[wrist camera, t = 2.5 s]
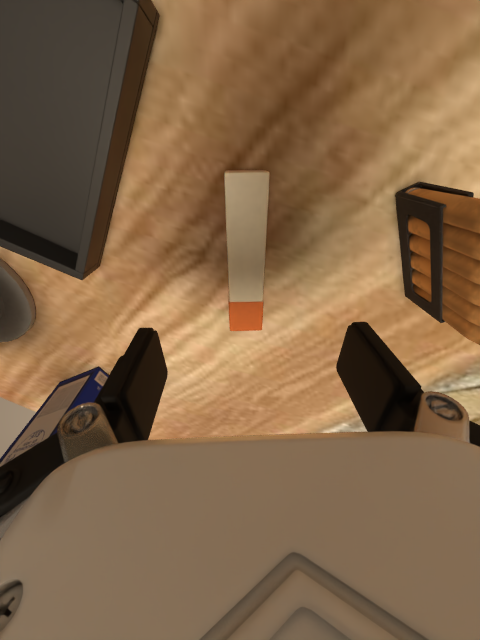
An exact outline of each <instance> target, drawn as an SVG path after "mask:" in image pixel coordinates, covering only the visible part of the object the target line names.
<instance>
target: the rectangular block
mask: <svg viewBox="0 0 480 640" xmlns="http://www.w3.org/2000/svg"><path fill="white" fill-rule="evenodd" d="M269 177H270V172H268V171H265V170H226V171H225V173H224V181H225V206H226V231H227V256H228V281H229V320H230V331H249V330H262V319H263V288H264V270H265V251H266V232H267V214H268V195H269Z"/></svg>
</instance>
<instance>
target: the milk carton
mask: <svg viewBox="0 0 480 640" xmlns="http://www.w3.org/2000/svg"><path fill="white" fill-rule="evenodd" d="M108 377H109V375H107V374H106V373H105V372H104V371H103V370H102V369H101V368H99V367H97V368H94V369H92V370H89V371H87V372H84V373H82V374H79V375H77V376H74V377H72V378H69V379H67V380H64V381H62V382H60V383H59V384H58V385H57V387H56V388H55V389H54V390H53V392H52V393H51V394H50V396H49V397H48V398H47V399H46V401H45V402H44V403H43V405H42V406H41V407H40V408H39V410H38V411H37V412H36V414H35V415H34V416H33V417H32V419H31V420H30V421H29V423H28V424H27V425H26V426H25V428H24V429H23V430H22V432H21V433H20V434H19V435H18V437H17V438H16V440H15V441H14V442H13V443H12V444H11V446H10V447H9V448H8V449H7V451H6V452H5V454H4V455H3V456H2V457H1V459H0V467H1V466H2V465H4V464H6V463H7V462H9V461H11V460H12V459H14V458H15V457H17V456H19V455H20V454H22V453H24V452H25V451H27V450H29V449H30V448H32V447H34V446H35V445H37V444H39V443H40V442H42V441H44V440H45V439H47V438H48V437H50V436H52V435H53V434H55V433H57V426H58V423H59V421H60V420H61V418H62V417H63V416H64V415H65V414H66V413H67V412H68V411H69V410H71V409H73V408H74V407H76V406H78V405H81V404H84V403H89V402H91V403H94V401H95V399H96V397H97V396H98V394H99V392H100V390H101V389H102V387H103V385H104V384H105V382H106V380H107V378H108Z"/></svg>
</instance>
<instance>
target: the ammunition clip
mask: <svg viewBox="0 0 480 640" xmlns="http://www.w3.org/2000/svg"><path fill="white" fill-rule="evenodd" d="M396 206H397V216H398V226H399V237H400V247H401V257H402V267H403V278H404V288H405V296H406V297H407V298H408V299H410V300H411V301H412V302H414V303H415V304H416V305H418V306H419V307H420V308H422V309H423V310H424V311H426V312H427V313H428V314H429V315H431V316H432V317H433V318H435V319H436V320H437V321H439V322H440V323H443V322H446V323H448V324H449V325H450V326H452V327H453V328H454V329H456V330H457V331H458V332H459V333H461V334H462V335H463V336H465V337H466V338H467V339H469V340H471V341H473V342H475V343H477V344H479V345H480V199H478V198H473V192H468V191H463V190H458V189H453V188H448V187H443V186H438V185H433V184H428V183H424V182H419V183H416V184H414V185H412V186H410V187H408V188H406V189H404V190H402V191H400V192H398V193H397V194H396ZM442 319H443V320H442Z"/></svg>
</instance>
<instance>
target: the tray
mask: <svg viewBox="0 0 480 640" xmlns="http://www.w3.org/2000/svg"><path fill="white" fill-rule="evenodd" d="M158 19H159V13H158V12H157V10H156V8H155V6H154V4H153V2H152V1H151V0H0V246H1V247H3V248H6V249H8V250H10V251H13V252H15V253H18V254H20V255H22V256H25V257H27V258H30V259H32V260H35V261H37V262H39V263H42V264H44V265H47V266H49V267H51V268H54V269H56V270H59V271H61V272H63V273H66V274H68V275H71V276H73V277H75V278H78V279H80V280H83V279H85V278H86V277H87V276H88V275H90V274H91V273H92V272H93V271H95V270H96V269H97V268H98V267H99V266H100V262H101V257H102V253H103V249H104V245H105V241H106V237H107V232H108V228H109V224H110V220H111V216H112V211H113V207H114V203H115V199H116V195H117V190H118V186H119V182H120V178H121V174H122V170H123V165H124V161H125V157H126V153H127V149H128V144H129V140H130V136H131V132H132V128H133V124H134V119H135V115H136V111H137V107H138V103H139V98H140V94H141V90H142V86H143V82H144V77H145V73H146V69H147V65H148V61H149V57H150V52H151V48H152V44H153V40H154V36H155V31H156V27H157V23H158Z"/></svg>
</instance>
